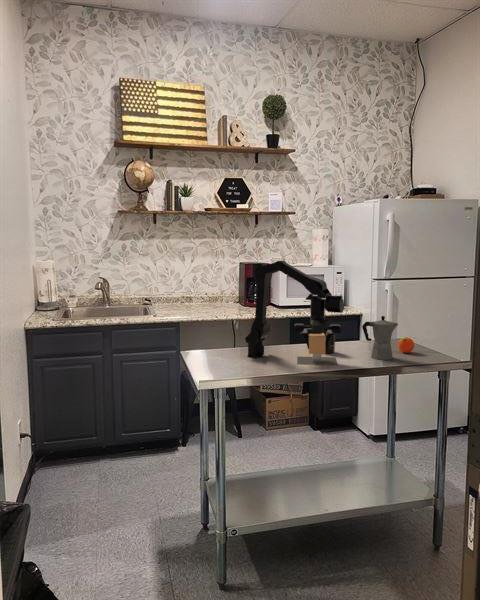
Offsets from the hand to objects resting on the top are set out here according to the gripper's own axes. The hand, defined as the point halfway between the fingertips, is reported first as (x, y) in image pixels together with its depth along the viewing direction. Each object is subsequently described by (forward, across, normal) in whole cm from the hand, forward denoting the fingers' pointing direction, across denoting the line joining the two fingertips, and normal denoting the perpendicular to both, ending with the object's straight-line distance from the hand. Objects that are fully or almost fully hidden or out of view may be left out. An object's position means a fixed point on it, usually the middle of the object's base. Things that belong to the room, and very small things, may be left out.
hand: (316, 349), depth 209 cm
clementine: (+6, +40, +24) cm, 47 cm away
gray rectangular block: (+5, 0, 0) cm, 5 cm away
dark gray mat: (+6, 0, 0) cm, 6 cm away
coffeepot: (+6, +27, +13) cm, 31 cm away
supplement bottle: (+6, +5, +17) cm, 19 cm away
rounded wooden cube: (+1, 0, 0) cm, 1 cm away
